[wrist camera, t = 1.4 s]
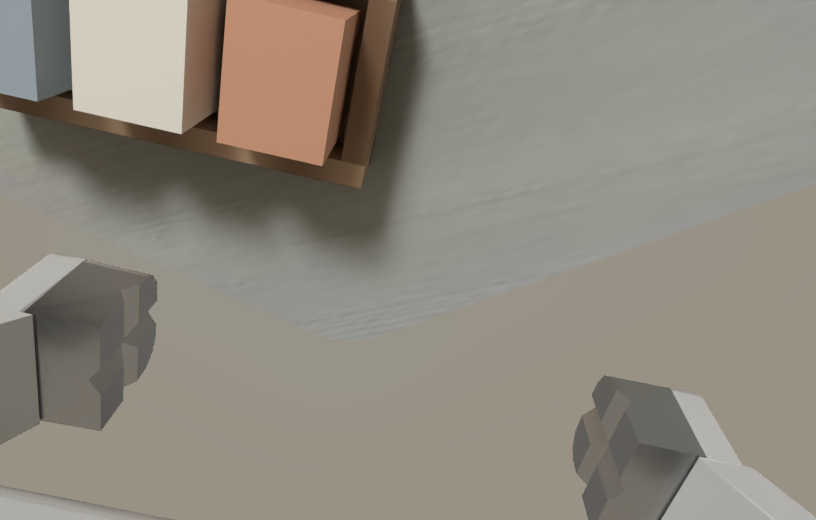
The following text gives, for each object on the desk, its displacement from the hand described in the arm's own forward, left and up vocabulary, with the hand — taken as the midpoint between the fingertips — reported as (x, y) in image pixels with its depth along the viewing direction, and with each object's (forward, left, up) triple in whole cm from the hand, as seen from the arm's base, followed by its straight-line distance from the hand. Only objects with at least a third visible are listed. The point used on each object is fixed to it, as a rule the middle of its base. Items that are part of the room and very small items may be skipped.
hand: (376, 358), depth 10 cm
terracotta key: (+6, 0, -22) cm, 23 cm away
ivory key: (+12, 0, -22) cm, 25 cm away
